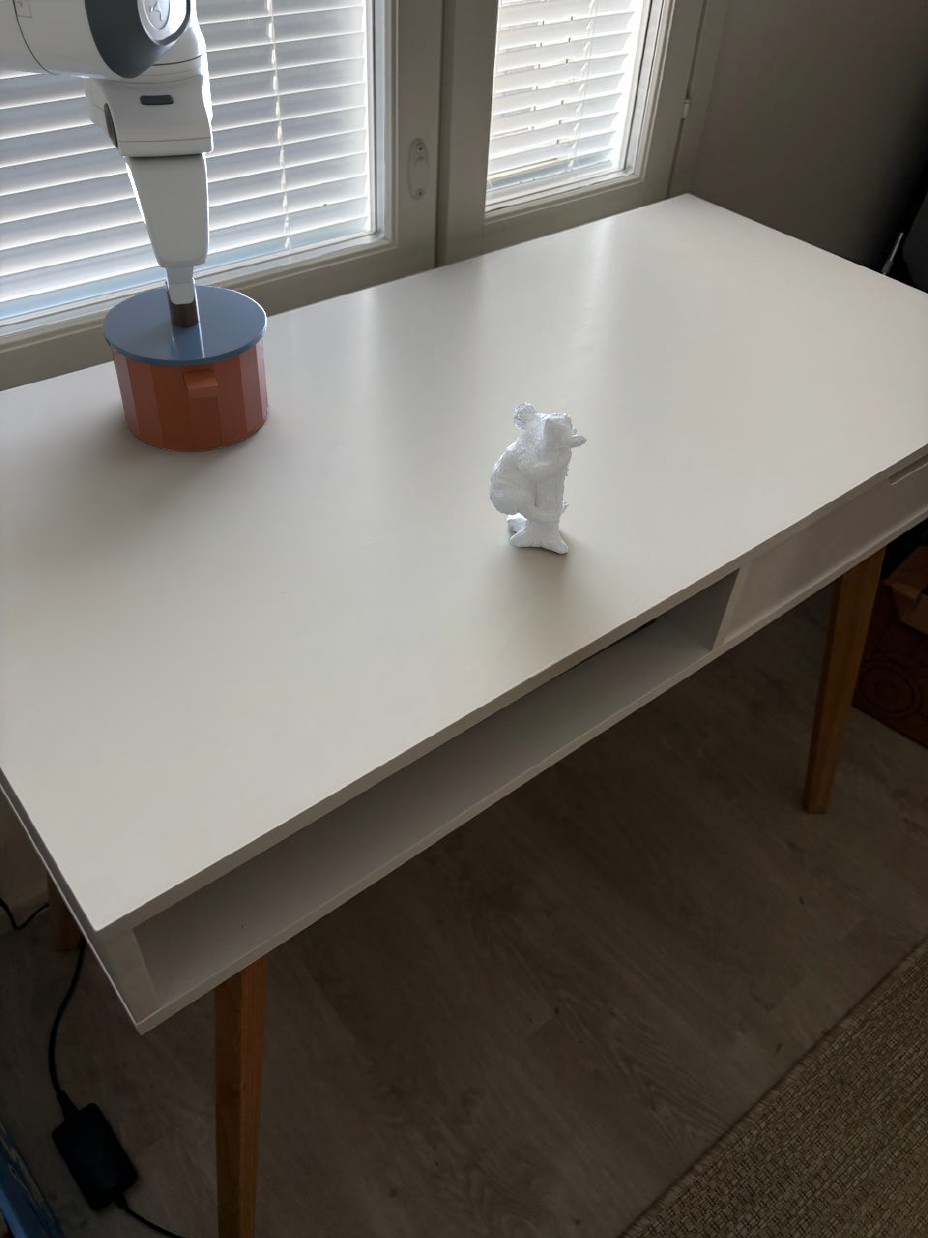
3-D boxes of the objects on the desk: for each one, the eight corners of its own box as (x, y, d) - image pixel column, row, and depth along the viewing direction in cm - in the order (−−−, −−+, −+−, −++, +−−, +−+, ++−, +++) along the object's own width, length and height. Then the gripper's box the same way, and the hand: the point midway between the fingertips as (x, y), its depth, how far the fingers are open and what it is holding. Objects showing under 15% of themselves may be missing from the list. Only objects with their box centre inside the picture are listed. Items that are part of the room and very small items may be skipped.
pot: (138, 478, 85) (120, 389, 79) (115, 372, 97) (98, 288, 91) (286, 456, 88) (280, 369, 82) (247, 357, 100) (238, 274, 94)
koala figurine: (594, 556, 80) (618, 427, 72) (518, 575, 78) (533, 443, 70) (547, 496, 86) (564, 370, 78) (474, 512, 84) (484, 383, 76)
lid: (113, 382, 81) (102, 328, 77) (98, 306, 90) (87, 254, 86) (282, 361, 84) (278, 309, 81) (250, 290, 94) (246, 240, 90)
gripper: (90, 54, 80) (119, 228, 89) (118, 139, 66) (149, 334, 76) (171, 52, 82) (192, 223, 91) (215, 135, 68) (234, 326, 77)
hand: (173, 274), depth 83 cm, fingers open, 8 cm apart
